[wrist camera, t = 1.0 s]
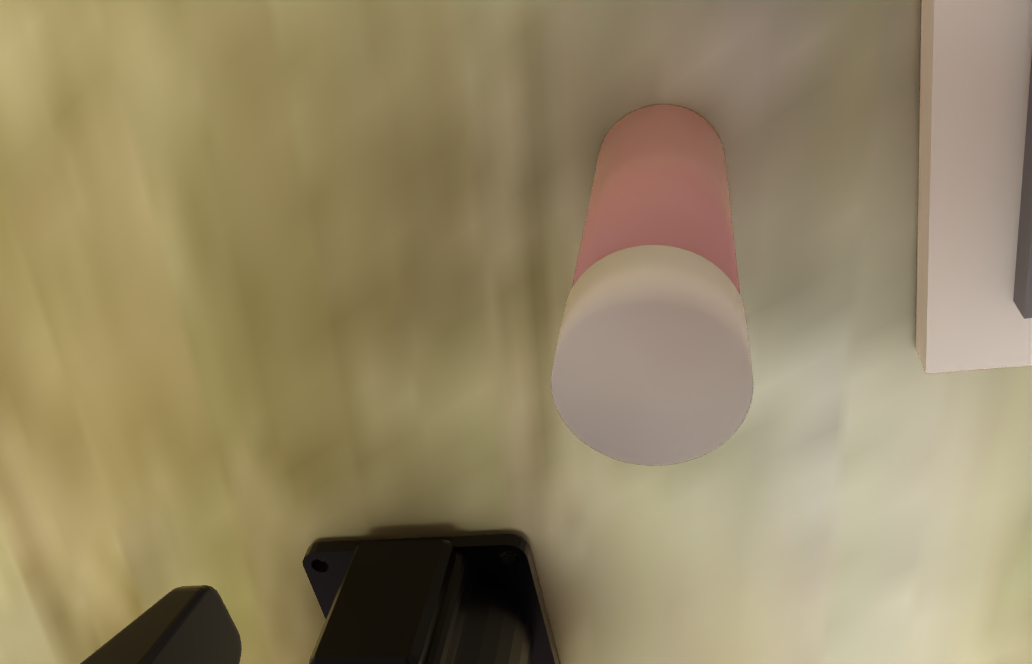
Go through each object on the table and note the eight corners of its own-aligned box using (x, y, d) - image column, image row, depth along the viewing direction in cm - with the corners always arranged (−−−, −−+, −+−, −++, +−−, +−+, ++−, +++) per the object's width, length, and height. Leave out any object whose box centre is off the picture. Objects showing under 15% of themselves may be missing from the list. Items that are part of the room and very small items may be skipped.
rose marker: (733, 217, 20) (760, 459, 13) (605, 232, 20) (569, 471, 14) (721, 92, 18) (745, 290, 12) (585, 112, 19) (534, 311, 12)
